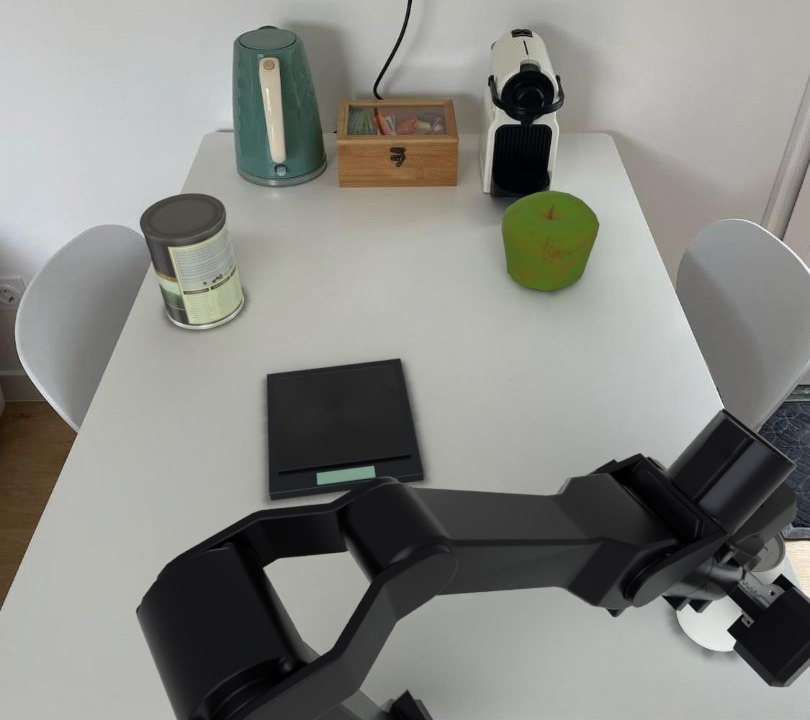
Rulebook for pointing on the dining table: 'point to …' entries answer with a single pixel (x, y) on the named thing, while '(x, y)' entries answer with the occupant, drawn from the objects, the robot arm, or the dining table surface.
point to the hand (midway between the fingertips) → (743, 571)
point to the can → (731, 603)
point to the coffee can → (193, 260)
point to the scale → (339, 429)
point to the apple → (548, 239)
